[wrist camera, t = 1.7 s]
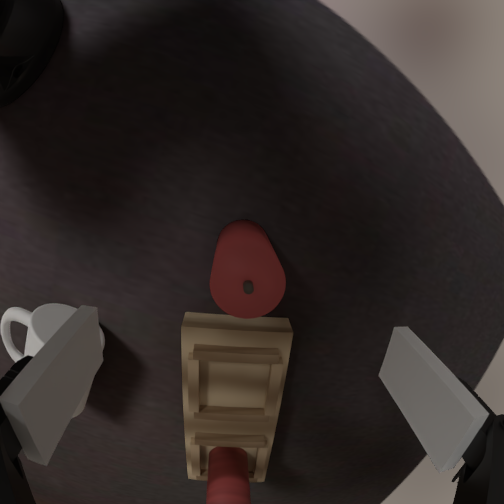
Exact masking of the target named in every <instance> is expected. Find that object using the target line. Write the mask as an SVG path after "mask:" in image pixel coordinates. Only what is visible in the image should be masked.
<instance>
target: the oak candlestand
mask: <svg viewBox="0 0 504 504" xmlns="http://www.w3.org/2000/svg"><path fill="white" fill-rule="evenodd" d="M292 338H293V330H292V327H291V325H290V322H289V319H288V318H276V317H257V318H251V319H243V318H237V317H234V316H231V315H221V314H207V313H194V312H185V316H184V319H183V322H182V326H181V347H182V387H183V410H184V429H185V444H186V458H187V470H188V479H196V480H205V481H207V502H206V504H251V500H250V486H249V482H264V480H265V476H266V471H267V467H268V463H269V458H270V453H271V449H272V444H273V439H274V435H275V430H276V425H277V420H278V415H279V410H280V405H281V400H282V394H283V389H284V384H285V378H286V373H287V367H288V361H289V356H290V350H291V344H292Z"/></svg>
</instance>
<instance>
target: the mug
mask: <svg viewBox="0 0 504 504" xmlns="http://www.w3.org/2000/svg"><path fill="white" fill-rule="evenodd" d="M76 310H77V308H74V307H72V306H68V305H64V304H57V303H51V304H45V305H42V306H40V307H38V308H37V309H35V310H34V311H33V313H32V312H30V311H28V310H26V309H23V308H20V307H11V308H9V309H8V310H7V311H6V312H5V313H4V315H3V317H2V320H1V336H2V339H3V342H4V345H5V347H6V349H7V351H8V353H9V355H10V356H11V358H12V359H13V360H14V361H15V362H17V361H18V360H20V359H22V358H24V357H25V356H27V355H29V356H33V357H34V356H35V355H36V354H37V352H38V351H39V350H40V349H41V348H42V347H43V346H44V345H45V344H46V342H47V341H48V340H49V339H50V338H51V337H52V336H53V335H54V334H55V333H56V332H57V330H58V329H59V328H60V327H61V326H62V325H63V324H64V323H65V322H66V321H67V320H68V319H69V318H70V317H71V316H72V315H73V314H74V312H75V311H76ZM11 321H17V322H20V323H22V324H24V325H26V326H28V332H27V339H26V346H25V353H24V355H23V354H22V353H21V352H20V351H19V350H18V349H17V348H16V347H15V346H14V344H13V342H12V339H11V335H10V322H11ZM99 330H100V339H101V346H102V352H103V349H104V346H105V337H104V333H103V331H102V329H101V328H100V326H99ZM93 379H94V378H93ZM92 382H93V380H92V381H91V383H90V385H89V387H88V388H87V390H86V392H85V394H84V396H83V397H82V399H81V401H80V403H79V405H78V406H77V408H76V410H75V412H74V414H73V416H72V417H71V418H74V417H76V416H78V415H79V414H80V413H81V412H82V411H83V409H84V407H85V405H86V401H87V398H88V395H89V391H90V388H91V385H92Z"/></svg>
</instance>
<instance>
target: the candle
mask: <svg viewBox="0 0 504 504" xmlns="http://www.w3.org/2000/svg"><path fill="white" fill-rule="evenodd" d="M285 287H286V278H285V273H284V270H283V268H282V266H281V264H280V262H279V260H278V258H277V255H276V253H275V251H274V249H273V247H272V245H271V243H270V241H269V239H268V237H267V235H266V233H265V231H264V230H263V228H262V227H261V226H259V225H258V224H257V223H255V222H253V221H250V220H236V221H233V222H231V223H229V224H228V225H227V226H225V227H224V228H223V230H222V231H221V233H220V235H219V237H218V241H217V246H216V251H215V256H214V261H213V266H212V271H211V277H210V291H211V294H212V297H213V299H214V301H215V302H216V304H217V305H218V306H219V307H220V308H221V309H222V310H223V311H224V312H226V313H227V314H229V315H231V316H234V317H237V318H243V319H251V318H257V317H260V316H263V315H265V314H267V313H269V312H270V311H272V310H273V309H274V308H275V307H276V306H277V305H278V304H279V302H280V301H281V299H282V297H283V295H284V292H285Z"/></svg>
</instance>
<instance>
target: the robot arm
mask: <svg viewBox="0 0 504 504" xmlns="http://www.w3.org/2000/svg"><path fill="white" fill-rule="evenodd" d="M62 24H63V8H62V4H61V2H60V0H0V107H2V106H5V105H7V104H9V103H10V102H12V101H14V100H15V99H16V98H18V97H19V96H20V95H21V94H23V93H24V92H25V91H26V90H27V89H28V88H29V87H30V86H31V85H32V84H33V82H34V81H35V80H36V79H37V77H38V76H39V75H40V73H41V72H42V71H43V69H44V68H45V66H46V65H47V63H48V61H49V59H50V58H51V56H52V54H53V52H54V50H55V47H56V45H57V43H58V40H59V37H60V33H61V30H62ZM103 361H104V360H103V354H102V346H101V339H100V330H99V321H98V311H97V307H91V306H85V305H81V306H80V307H79V308H78V309H77V310H76V311H75V312H74V314H73V315H72V316H71V317H70V318H69V319H68V320H67V321H66V322H65V323H64V324H63V325H62V326H61V327H60V328H59V329H58V330H57V332H56V333H55V334H54V335H53V336H52V337H51V338H50V339H49V340H48V341H47V342H46V344H45V345H44V346H43V347H42V348H41V349H40V350H39V351H38V352H37V354H36V355H35V356H34V357H33V356H29V355H27V356H25V357H24V358H22V359H20V360H18V361H17V362H16V363H15V364H14V365H13V366H12V367H11V368H10V371H8V372H7V373H6V374H5V377H2V379H1V380H0V504H36V503H35V500H34V498H33V495H32V493H31V490H30V487H29V484H28V482H27V479H26V476H25V473H24V470H23V467H22V464H21V461H20V459H19V457H18V454H19V452H20V451H21V449H23V451H24V453H25V455H26V457H27V458H28V459H29V460H32V461H34V462H37V463H39V464H42V465H45V466H47V464H48V462H49V460H50V458H51V456H52V454H53V452H54V450H55V448H56V446H57V444H58V442H59V440H60V438H61V436H62V434H63V433H64V431H65V429H66V427H67V425H68V423H69V421H70V419H71V417H72V416H73V414H74V412H75V410H76V408H77V406H78V405H79V403H80V401H81V399H82V397H83V396H84V394H85V392H86V390H87V388H88V387H89V385H90V383H91V381H92V380H93V378H94V376H95V374H96V373H97V371H98V369H99V368H100V366H101V364H102V362H103ZM379 377H380V379H381V380H382V382H383V383H384V385H385V386H386V388H387V390H388V391H389V393H390V394H391V396H392V397H393V399H394V401H395V402H396V404H397V405H398V407H399V409H400V410H401V412H402V413H403V415H404V416H405V418H406V420H407V421H408V423H409V425H410V426H411V428H412V429H413V431H414V433H415V434H416V436H417V438H418V439H419V441H420V442H421V444H422V446H423V447H424V449H425V451H426V452H427V454H428V456H429V457H430V459H431V461H432V462H433V464H434V466H435V467H436V469H437V470H438V472H439V473H440V472H443V471H446V470H449V469H452V468H454V467H455V466H456V464H457V463H458V461H459V460H460V459H461V457H463V459H464V461H465V463H464V465H463V466H462V467H461V469H460V470H459V471H458V473H457V474H456V475H455V476H454V478H453V480H452V482H454V481H455V480H456V479H457V478H458V477H459V481H458V485H457V490H456V494H455V498H454V502H453V504H504V415H503V414H501V415H498V416H496V415H495V414H494V412H493V411H492V410H491V409H490V408H489V407H488V406H487V405H486V404H485V402H484V401H483V400H482V399H481V398H480V397H478V395H477V394H476V393H475V392H474V391H472V390H473V389H472V388H471V387H470V386H469V385H468V384H467V383H466V382H465V381H463V380H462V379H460V378H458V377H457V376H455V375H454V374H453V373H452V372H451V371H450V370H449V369H448V368H447V367H446V366H445V365H444V364H443V363H442V362H441V361H440V360H439V358H438V357H437V356H436V355H435V354H434V353H433V352H432V351H431V350H430V349H429V348H428V347H427V346H426V345H425V344H424V343H423V342H422V341H421V340H420V339H419V338H418V337H417V336H416V335H415V334H414V333H413V332H412V331H411V330H410V329H409V328H408V327H394V329H393V333H392V336H391V339H390V343H389V346H388V349H387V352H386V355H385V358H384V361H383V364H382V367H381V370H380V373H379Z"/></svg>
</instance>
